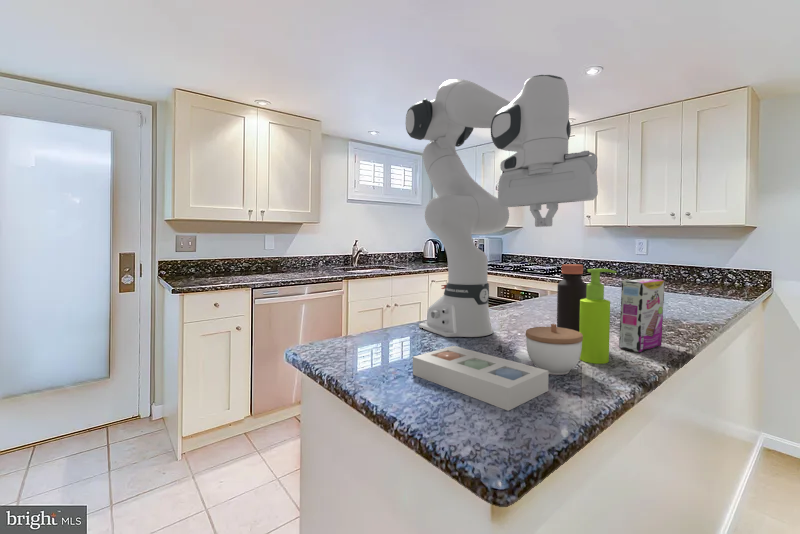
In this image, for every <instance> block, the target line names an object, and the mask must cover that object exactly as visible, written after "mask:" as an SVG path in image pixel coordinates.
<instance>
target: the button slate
mask: <svg viewBox="0 0 800 534" xmlns="http://www.w3.org/2000/svg"><path fill="white" fill-rule="evenodd" d="M496 375H497V376H500V377H504V378H507V379H510V380H515V379H518V378H520V377H522V372H520V371H519V370H515V369H509V368H503V369H498V370H496Z"/></svg>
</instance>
